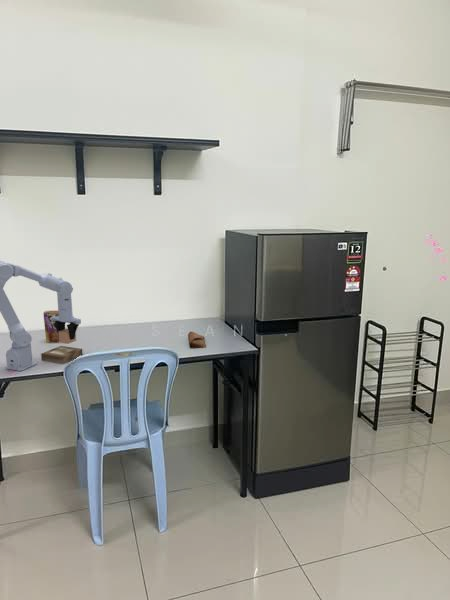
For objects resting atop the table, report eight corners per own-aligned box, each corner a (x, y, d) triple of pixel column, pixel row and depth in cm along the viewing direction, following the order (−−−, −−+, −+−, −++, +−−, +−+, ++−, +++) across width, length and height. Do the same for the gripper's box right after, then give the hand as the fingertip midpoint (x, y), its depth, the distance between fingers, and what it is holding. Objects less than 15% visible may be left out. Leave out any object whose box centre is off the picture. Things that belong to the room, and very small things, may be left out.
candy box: (66, 339, 221) (64, 309, 218) (64, 342, 217) (62, 311, 214) (48, 340, 220) (45, 310, 217) (45, 342, 216) (43, 312, 213)
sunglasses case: (207, 347, 208) (200, 336, 206) (194, 355, 208) (187, 344, 206) (204, 336, 225) (197, 326, 224) (192, 344, 225) (185, 333, 224)
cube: (68, 343, 192) (67, 332, 191) (59, 342, 194) (58, 331, 193) (76, 340, 197) (75, 329, 196) (67, 339, 199) (66, 328, 198)
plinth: (63, 363, 187) (63, 357, 187) (41, 360, 192) (41, 353, 191) (82, 355, 198) (82, 348, 198) (61, 351, 203) (60, 345, 202)
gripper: (84, 307, 193) (86, 337, 196) (58, 304, 199) (60, 334, 201) (73, 311, 187) (75, 342, 190) (46, 308, 192) (49, 338, 195)
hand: (67, 338), depth 195 cm, fingers closed on cube, 5 cm apart
